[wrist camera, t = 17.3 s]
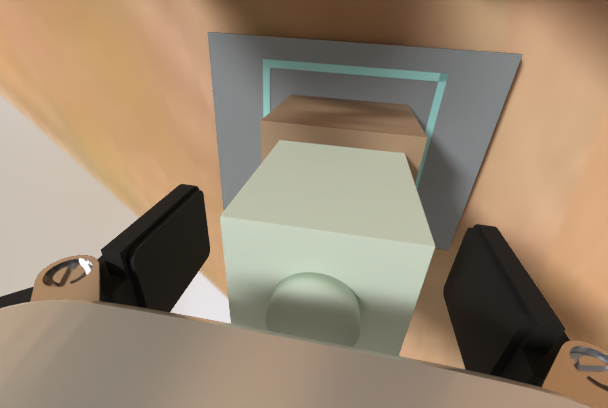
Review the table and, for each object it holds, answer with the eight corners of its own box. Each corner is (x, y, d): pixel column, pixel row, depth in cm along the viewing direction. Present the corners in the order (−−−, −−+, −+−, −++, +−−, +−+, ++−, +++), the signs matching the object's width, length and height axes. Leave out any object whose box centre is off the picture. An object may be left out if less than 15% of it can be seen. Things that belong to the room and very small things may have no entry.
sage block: (404, 153, 12) (442, 267, 6) (381, 253, 14) (392, 401, 9) (279, 139, 12) (207, 232, 7) (278, 238, 15) (224, 367, 9)
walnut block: (407, 104, 17) (427, 137, 11) (385, 207, 20) (392, 268, 15) (291, 94, 17) (260, 120, 12) (288, 194, 21) (262, 248, 15)
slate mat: (517, 53, 15) (523, 54, 15) (446, 245, 21) (448, 251, 21) (212, 32, 17) (207, 32, 16) (227, 213, 23) (224, 217, 22)
